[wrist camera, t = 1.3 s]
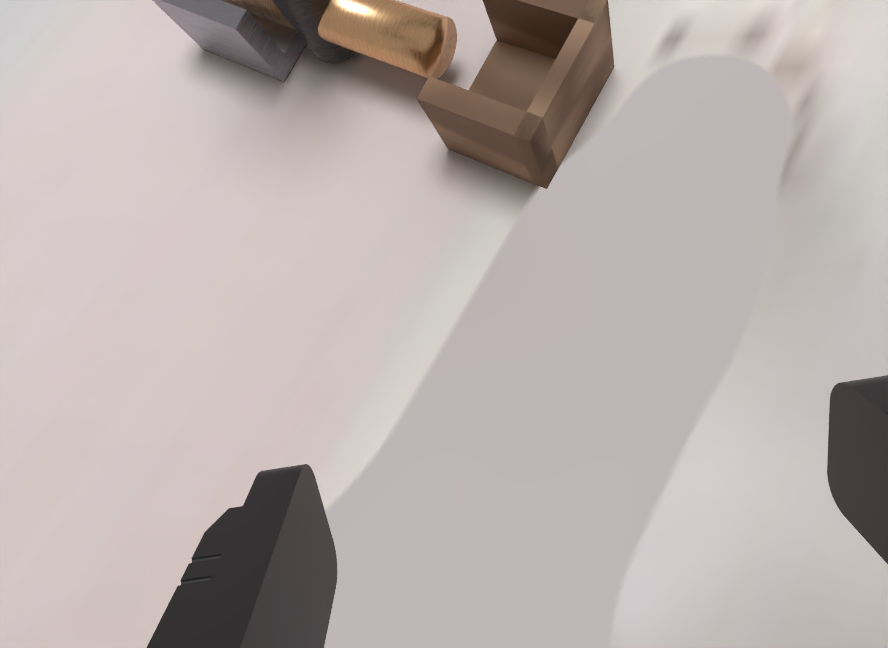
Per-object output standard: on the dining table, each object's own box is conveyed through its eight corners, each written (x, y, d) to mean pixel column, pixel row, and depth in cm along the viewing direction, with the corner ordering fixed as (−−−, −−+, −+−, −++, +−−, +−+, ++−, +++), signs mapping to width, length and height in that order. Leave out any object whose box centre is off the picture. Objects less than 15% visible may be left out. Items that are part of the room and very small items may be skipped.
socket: (512, 33, 36) (491, -33, 31) (614, 66, 34) (607, -1, 29) (447, 148, 36) (416, 98, 31) (546, 188, 33) (529, 141, 29)
